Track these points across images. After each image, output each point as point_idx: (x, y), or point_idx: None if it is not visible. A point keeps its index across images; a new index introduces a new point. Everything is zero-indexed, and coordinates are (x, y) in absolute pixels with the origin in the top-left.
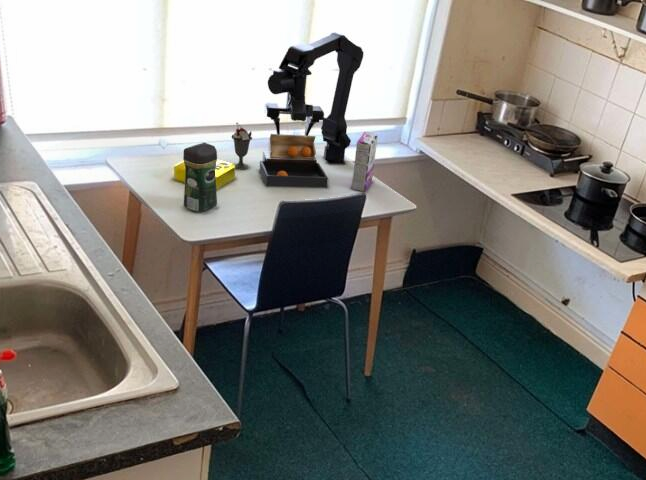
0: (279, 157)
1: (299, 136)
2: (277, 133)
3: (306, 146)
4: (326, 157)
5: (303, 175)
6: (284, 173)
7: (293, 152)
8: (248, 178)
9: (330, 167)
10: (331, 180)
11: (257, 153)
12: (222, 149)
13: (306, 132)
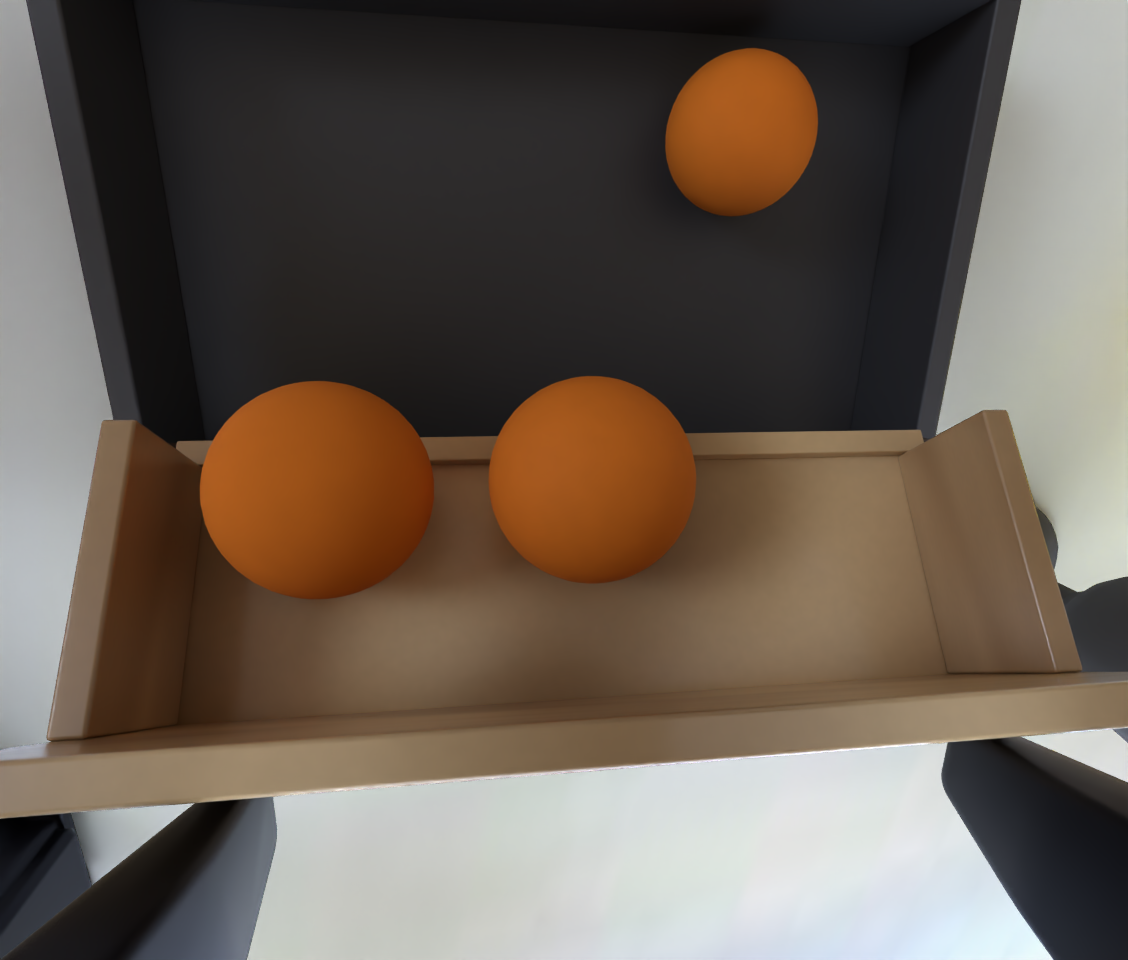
0: (781, 432)
1: (461, 731)
2: (1101, 773)
3: (286, 548)
4: (48, 851)
5: (402, 367)
6: (749, 69)
7: (608, 382)
8: (1026, 276)
9: (31, 677)
10: (29, 273)
11: (739, 870)
12: (990, 888)
13: (158, 925)
